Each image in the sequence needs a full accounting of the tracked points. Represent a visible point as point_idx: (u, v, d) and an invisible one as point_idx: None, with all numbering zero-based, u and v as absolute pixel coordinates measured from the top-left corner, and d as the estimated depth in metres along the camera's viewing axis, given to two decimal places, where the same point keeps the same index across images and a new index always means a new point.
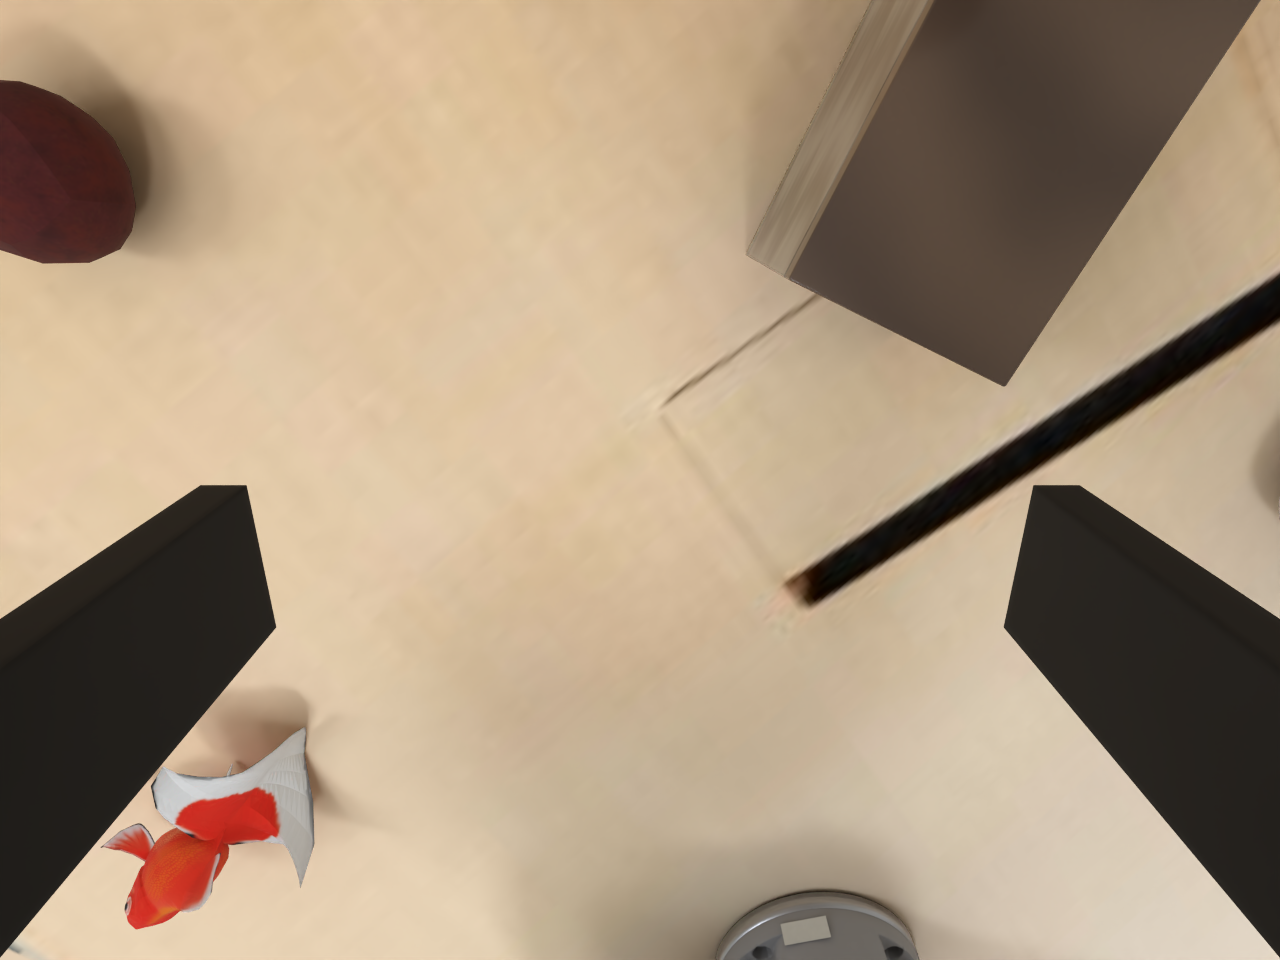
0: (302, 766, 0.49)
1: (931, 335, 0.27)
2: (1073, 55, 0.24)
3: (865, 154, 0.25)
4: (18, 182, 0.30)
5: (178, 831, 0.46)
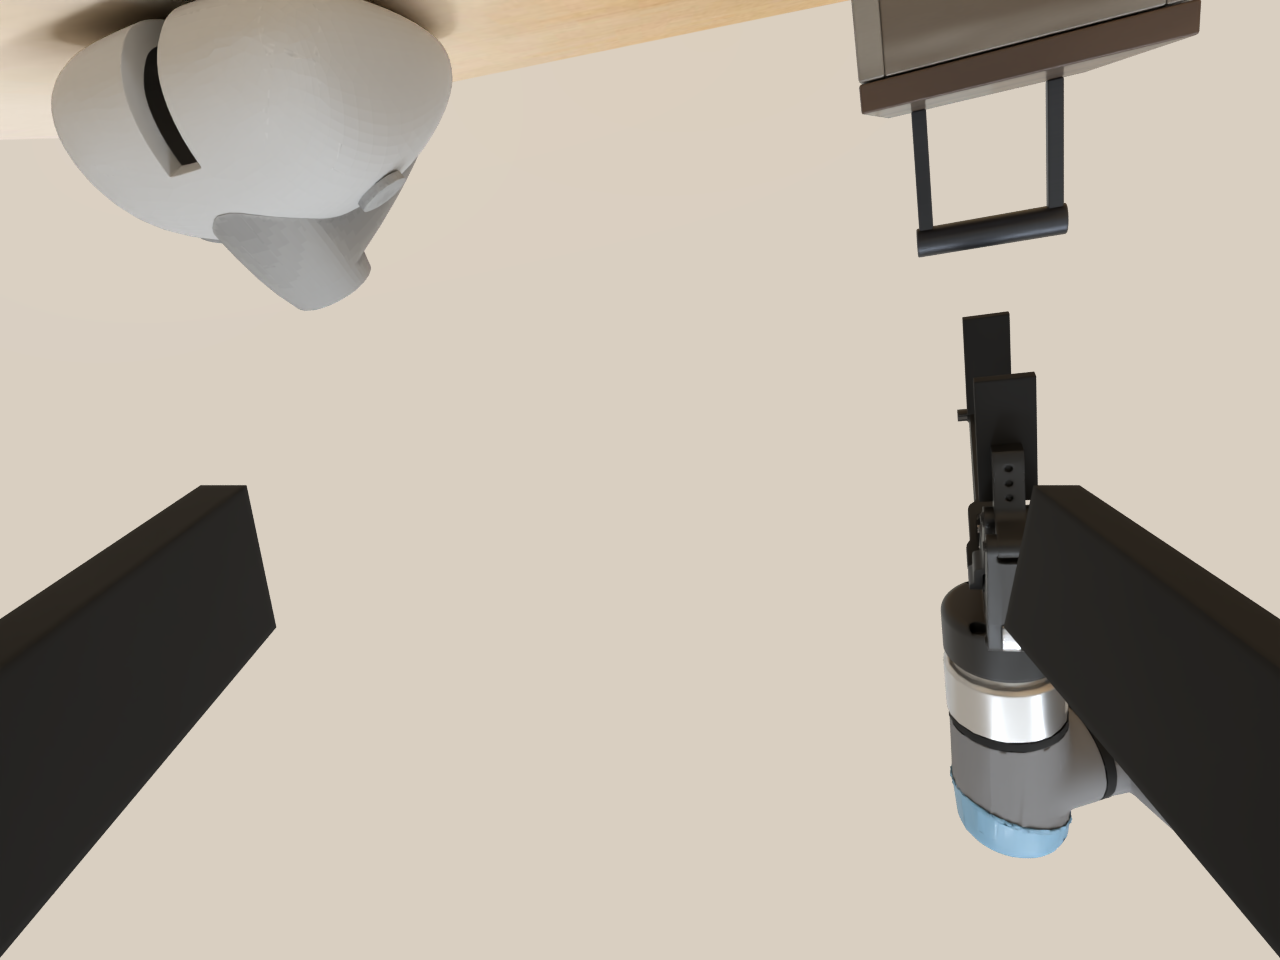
0: None
1: (979, 87, 0.24)
2: (987, 91, 0.32)
3: (1144, 51, 0.26)
4: None
5: None
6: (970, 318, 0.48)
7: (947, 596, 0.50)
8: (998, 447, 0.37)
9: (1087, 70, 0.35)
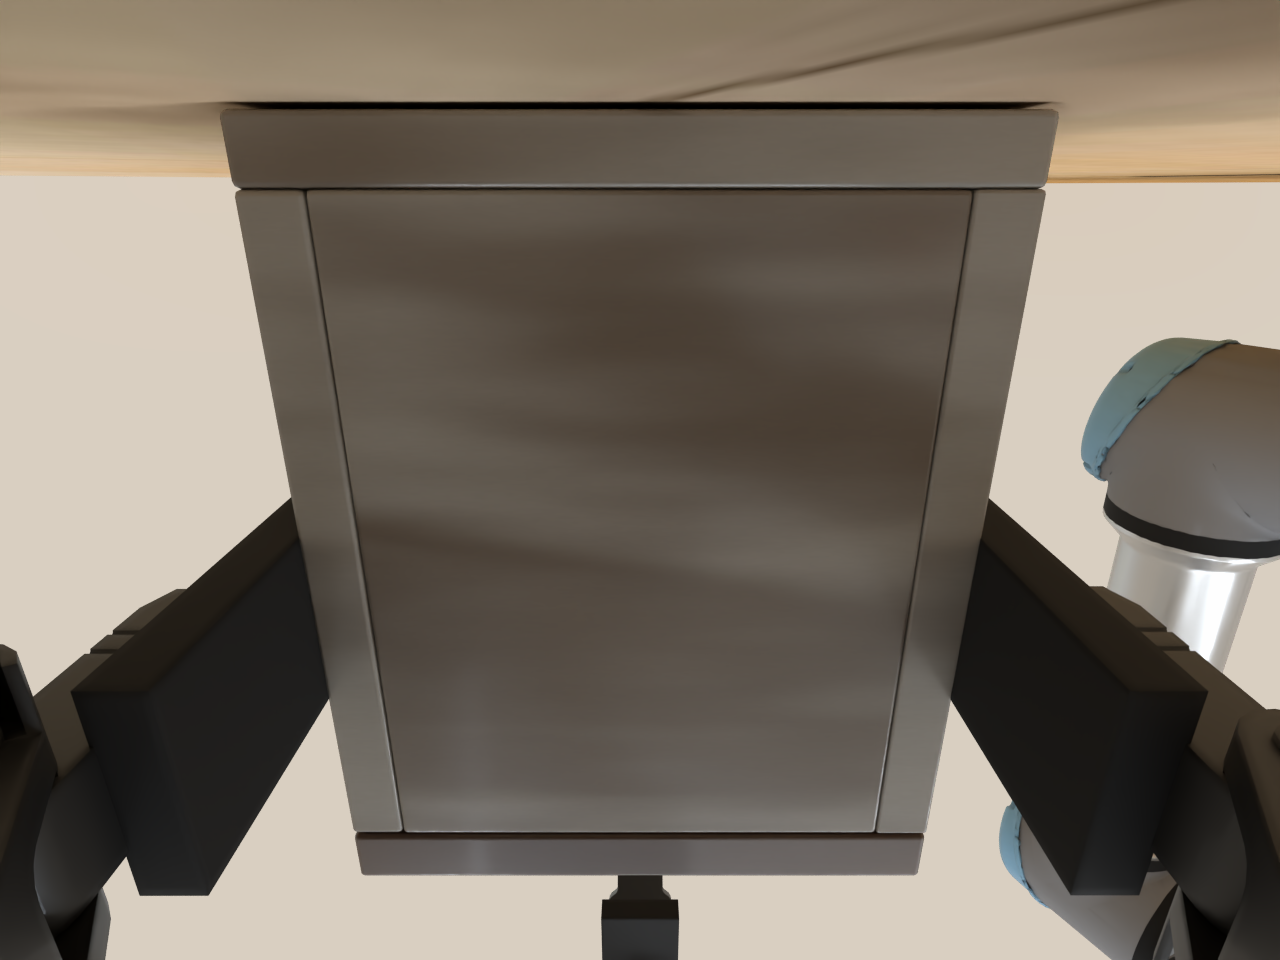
0: None
1: None
2: None
3: None
4: None
5: None
6: None
7: None
8: None
9: None
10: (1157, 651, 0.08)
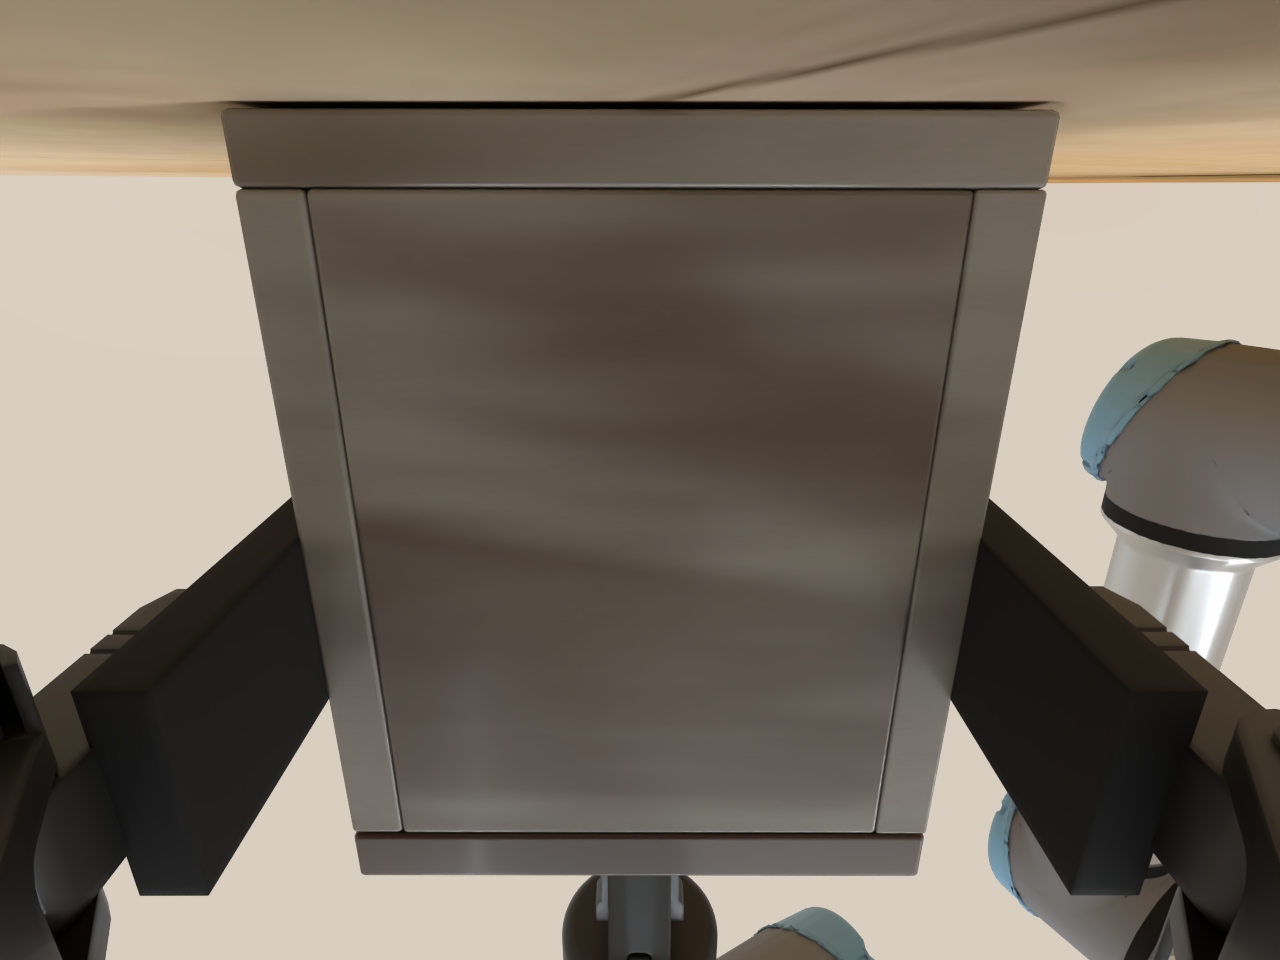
0: None
1: None
2: None
3: None
4: None
5: None
6: None
7: (573, 904, 0.36)
8: None
9: None
10: (1157, 651, 0.08)
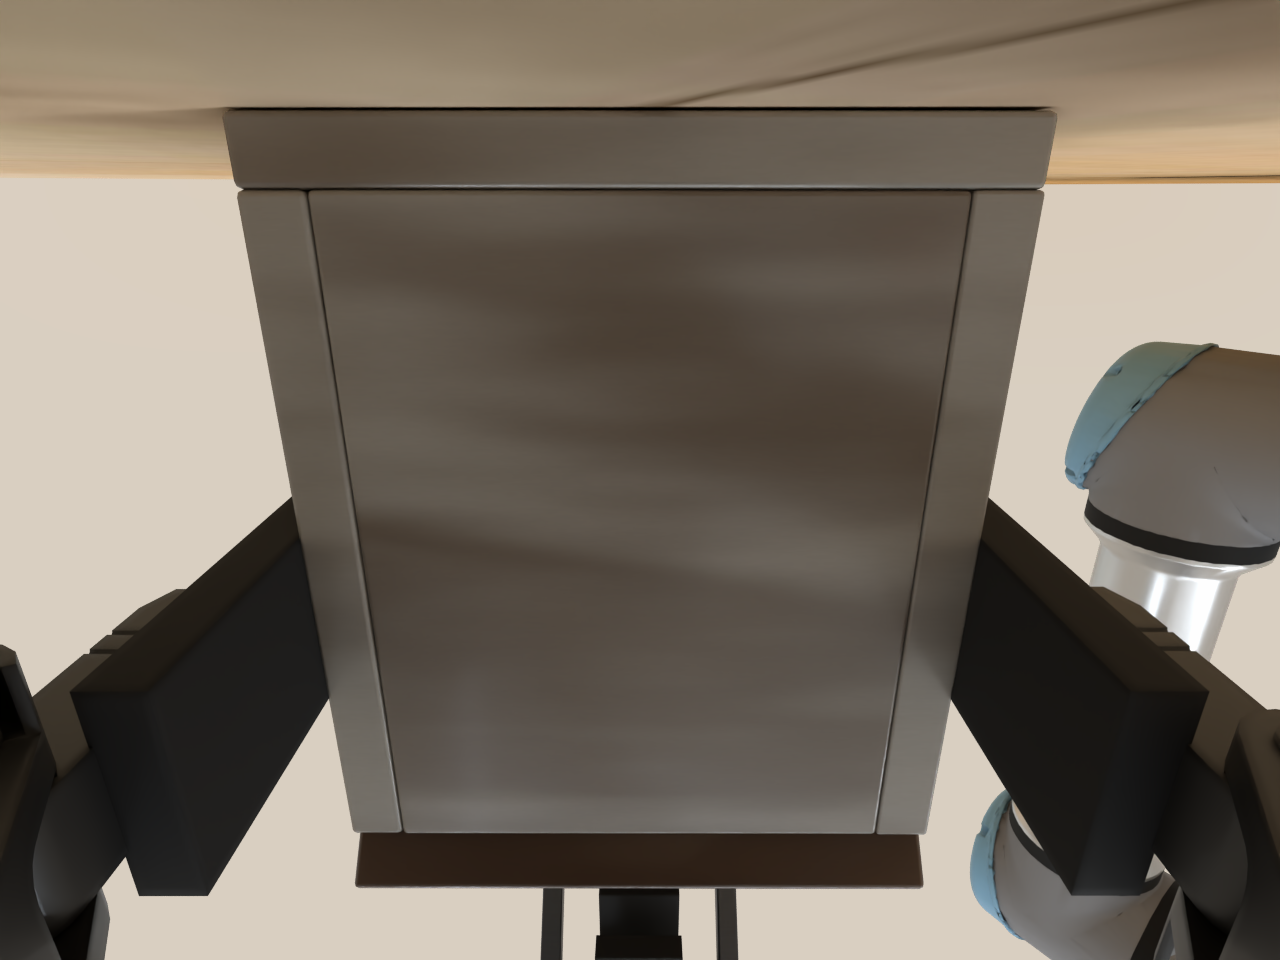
0: None
1: None
2: None
3: None
4: None
5: None
6: (612, 890, 0.25)
7: None
8: None
9: None
10: (1158, 650, 0.08)
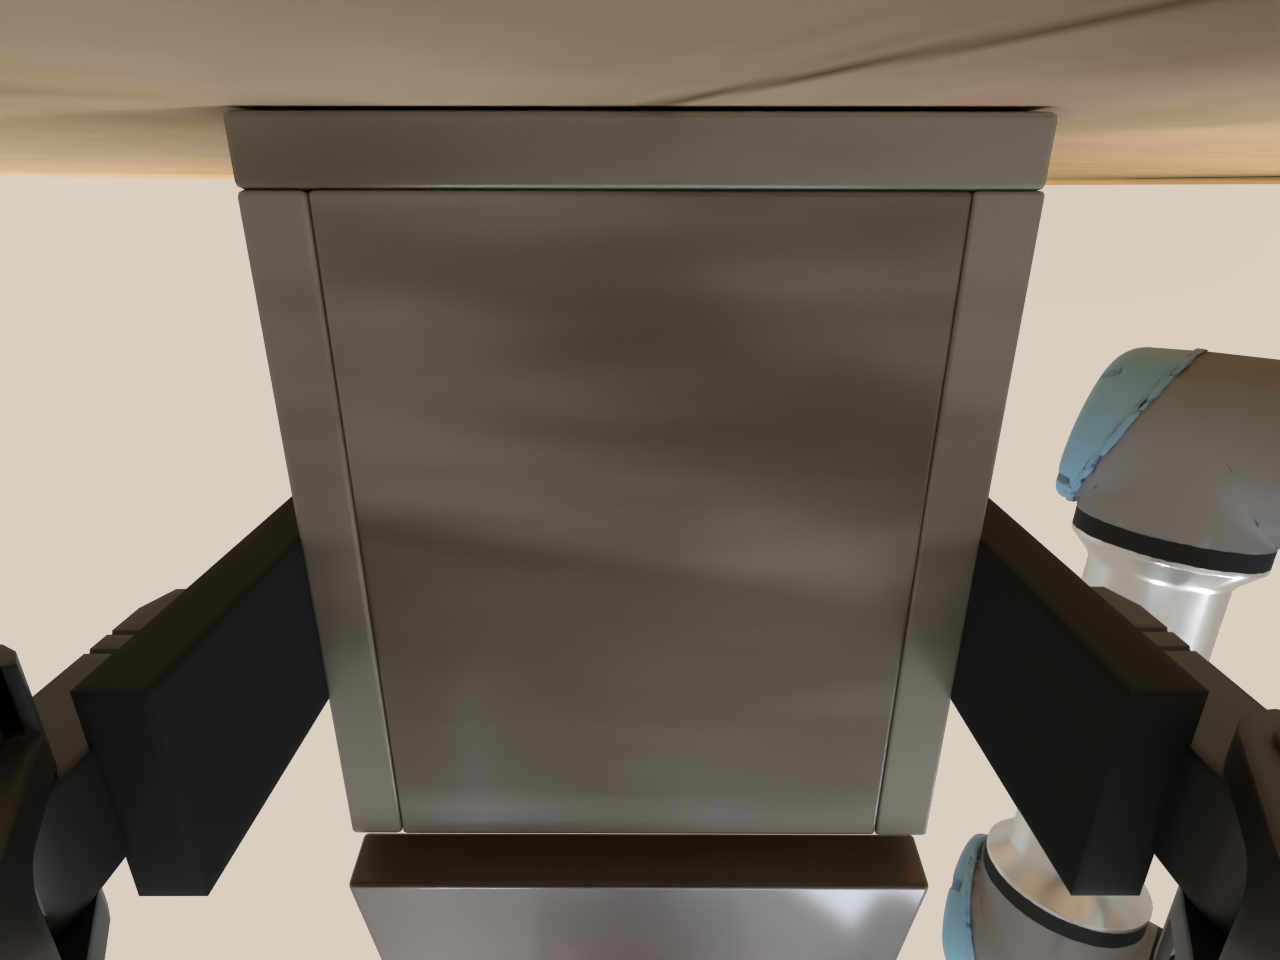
0: None
1: (573, 901, 0.12)
2: None
3: None
4: None
5: None
6: None
7: None
8: None
9: None
10: (1157, 651, 0.08)
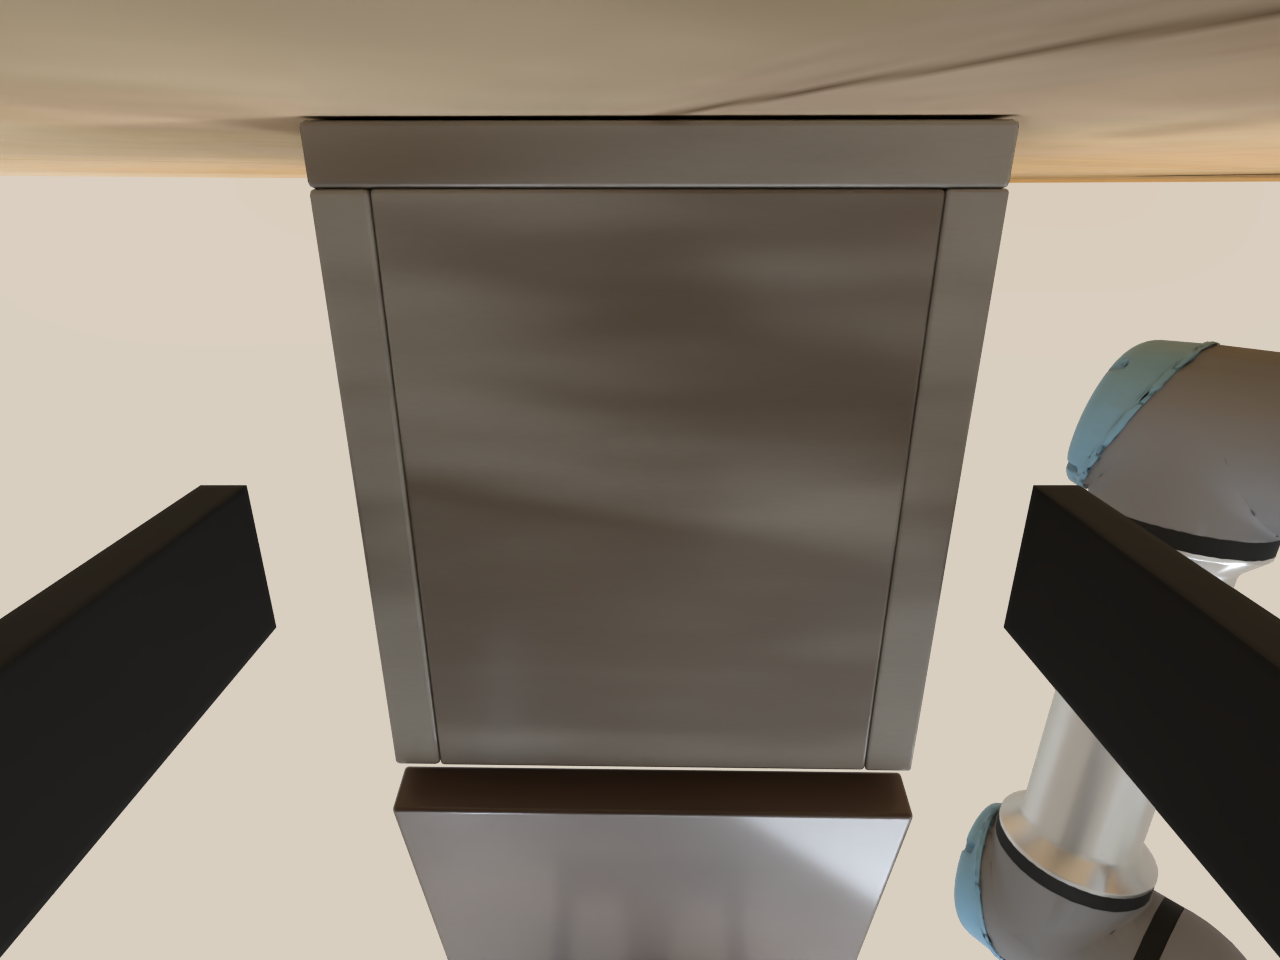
0: None
1: (593, 827, 0.14)
2: None
3: (851, 935, 0.16)
4: None
5: None
6: None
7: None
8: None
9: None
10: None
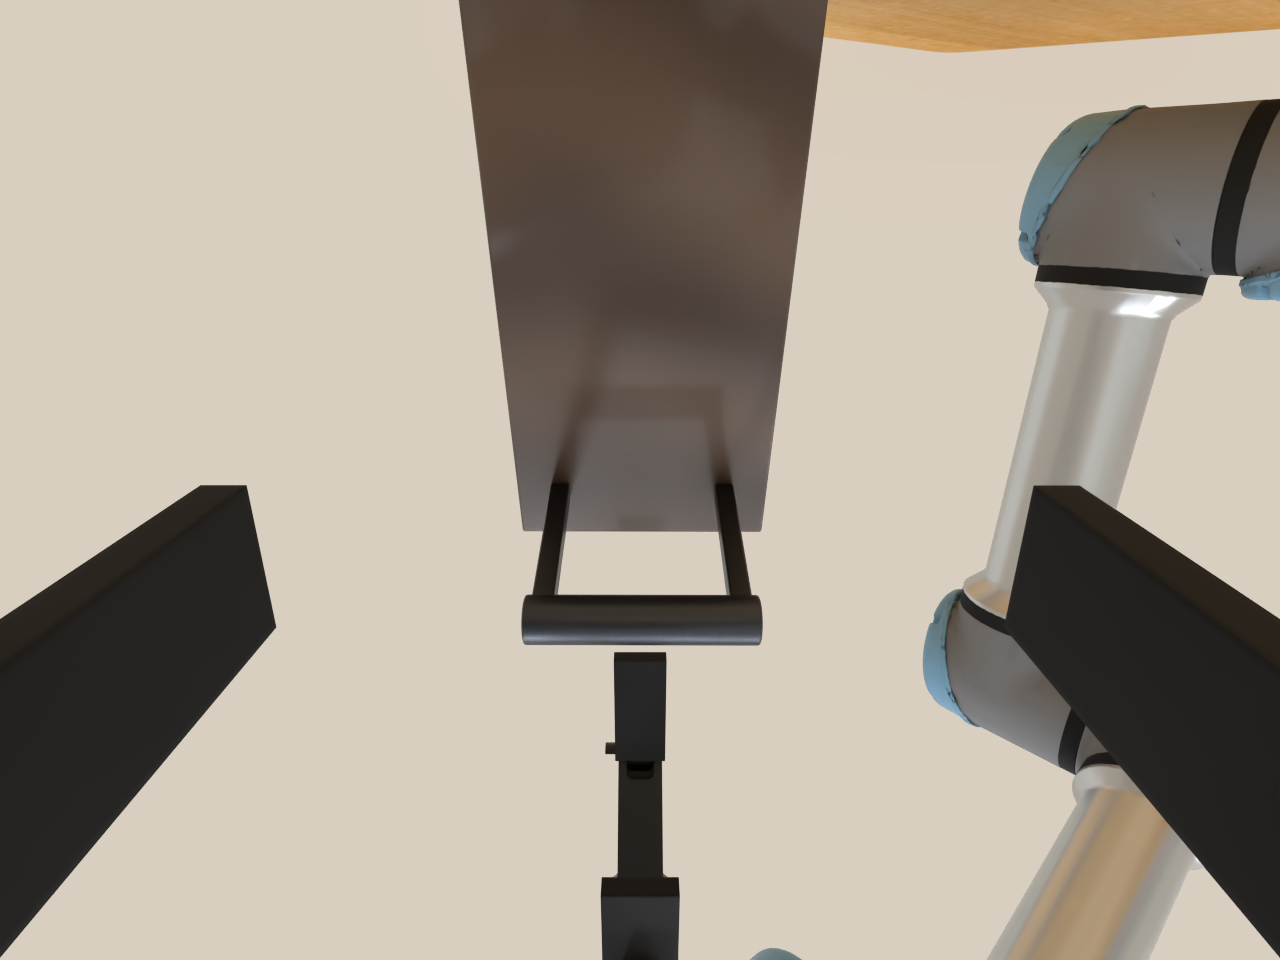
0: None
1: None
2: (635, 344, 0.24)
3: (794, 173, 0.21)
4: None
5: None
6: (622, 658, 0.38)
7: None
8: None
9: (758, 478, 0.28)
10: None
